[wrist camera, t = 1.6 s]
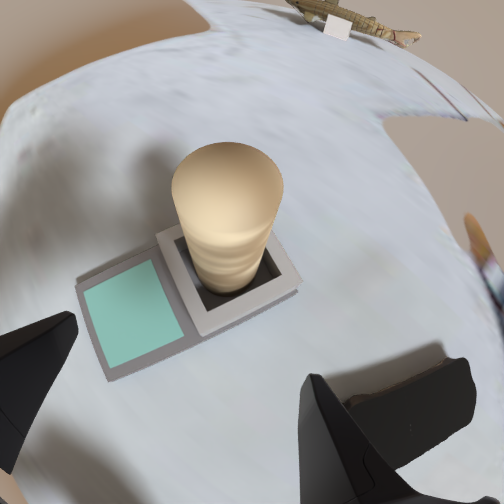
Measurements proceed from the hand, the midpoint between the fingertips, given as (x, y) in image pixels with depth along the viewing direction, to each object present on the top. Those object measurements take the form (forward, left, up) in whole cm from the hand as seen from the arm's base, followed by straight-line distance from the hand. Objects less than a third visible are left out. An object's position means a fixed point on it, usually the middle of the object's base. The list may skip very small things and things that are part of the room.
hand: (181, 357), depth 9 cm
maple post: (+5, +6, -12) cm, 14 cm away
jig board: (0, +6, -13) cm, 14 cm away
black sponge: (+13, -16, -14) cm, 25 cm away
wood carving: (+57, +48, -13) cm, 75 cm away
